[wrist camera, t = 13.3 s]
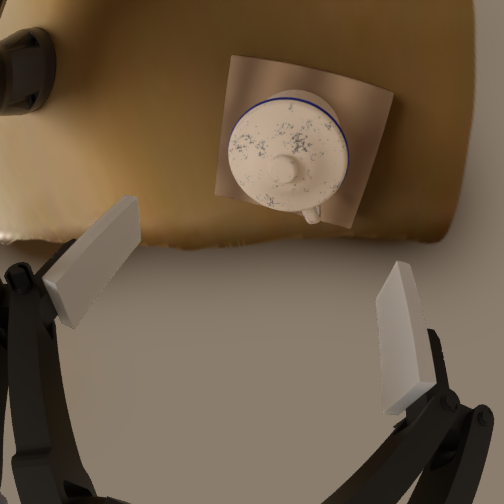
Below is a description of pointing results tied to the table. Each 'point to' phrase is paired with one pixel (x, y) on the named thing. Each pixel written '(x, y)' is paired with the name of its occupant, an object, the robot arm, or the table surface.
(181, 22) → the table surface
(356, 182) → the wooden square block
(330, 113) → the teacup with lid
